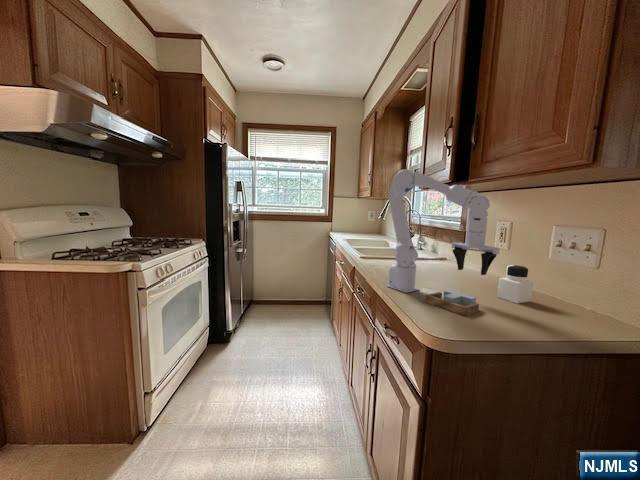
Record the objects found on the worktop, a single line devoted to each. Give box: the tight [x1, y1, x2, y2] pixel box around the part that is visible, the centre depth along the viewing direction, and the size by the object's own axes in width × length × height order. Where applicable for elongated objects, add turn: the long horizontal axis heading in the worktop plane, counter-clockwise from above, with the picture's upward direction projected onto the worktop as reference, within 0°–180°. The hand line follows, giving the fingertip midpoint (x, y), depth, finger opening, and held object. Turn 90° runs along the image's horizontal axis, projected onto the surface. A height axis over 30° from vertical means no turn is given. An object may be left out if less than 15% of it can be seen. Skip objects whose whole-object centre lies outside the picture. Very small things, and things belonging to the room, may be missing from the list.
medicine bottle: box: [496, 264, 534, 304], centre depth 95 cm, size 7×7×12 cm
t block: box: [442, 289, 477, 306], centre depth 87 cm, size 9×8×4 cm
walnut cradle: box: [425, 291, 480, 317], centre depth 86 cm, size 13×7×2 cm, turn 34°
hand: (471, 272), depth 92 cm, fingers open, 7 cm apart
